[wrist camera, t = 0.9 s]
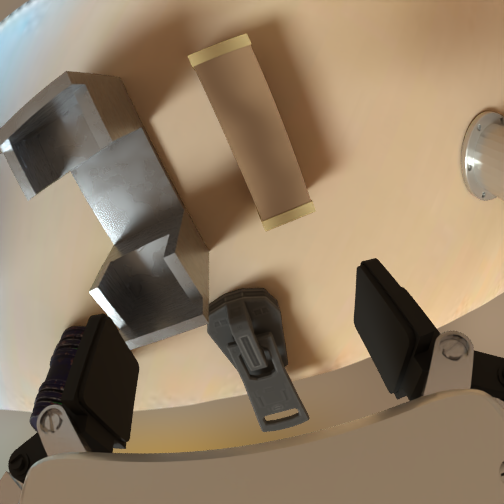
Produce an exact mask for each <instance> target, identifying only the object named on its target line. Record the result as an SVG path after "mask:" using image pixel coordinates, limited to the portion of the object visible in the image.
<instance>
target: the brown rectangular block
mask: <svg viewBox="0 0 504 504" xmlns="http://www.w3.org/2000/svg"><path fill="white" fill-rule="evenodd" d="M188 59H189V61H190V63H191V65H192V67H193V68H194V70H195V71H196V72H197V75H198V77H199V79H200V81H201V83H202V85H203V88H204V90H205V92H206V94H207V96H208V98H209V101H210V103H211V105H212V107H213V109H214V112H215V114H216V116H217V118H218V121H219V123H220V125H221V127H222V129H223V132H224V134H225V136H226V138H227V141H228V143H229V145H230V147H231V150H232V152H233V154H234V156H235V159H236V161H237V163H238V166H239V168H240V170H241V172H242V175H243V177H244V179H245V182H246V184H247V186H248V188H249V191H250V193H251V195H252V198H253V200H254V202H255V205H256V208H257V211H258V214H259V216H260V219H261V222H262V224H263V226H264V229H265V231H269V230H271V229H273V228H276V227H278V226H281V225H283V224H286V223H288V222H291V221H293V220H296V219H298V218H300V217H303V216H305V215H308V214H310V213H313V212H315V208H314V204H313V201H312V200H311V199H310V197H309V194H308V191H307V188H306V185H305V182H304V179H303V176H302V173H301V170H300V167H299V165H298V162H297V159H296V156H295V153H294V151H293V148H292V145H291V143H290V140H289V137H288V135H287V132H286V129H285V127H284V124H283V121H282V119H281V116H280V114H279V111H278V109H277V106H276V104H275V101H274V99H273V96H272V94H271V91H270V89H269V87H268V84H267V82H266V79H265V77H264V75H263V72H262V70H261V68H260V65H259V63H258V61H257V59H256V56H255V54H254V52H253V50H252V47H251V41H250V39H249V37H248V35H247V33H246V34H243V35H240V36H237V37H234V38H231V39H228V40H226V41H223V42H220V43H218V44H215V45H213V46H210V47H207V48H205V49H203V50H200V51H198V52H195V53H193V54H191V55H188Z"/></svg>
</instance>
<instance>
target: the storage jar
mask: <svg viewBox="0 0 504 504" xmlns="http://www.w3.org/2000/svg"><path fill="white" fill-rule="evenodd" d="M85 328H86V327H84V326H74V327H70V328H68V329H66V330H65V331H64V332H63V334H62V337H61V340H60V341H59V343H58V344H57V346H56V348H55V351H54V353H53V355H52V357H51V361H50V369H49V372H48V374H47V377H46V380H45V382H43V383H42V385H41V386H40V388H39V393H38V394H37V397H36V400H35V402H34V408H33V413H32V414H31V417H30V424H31V426H32V427H33V428H34V429H35V431H37V432H38V430H37V419H38V417H39V415H40V413H41V412H42V411H43V410H44V409H45V408H46V407H48V406H50V405H59V406H61V405H62V401H61V400H60V399H61V396H62V393H63V390H64V387H65V383H66V380H67V377H68V374H69V371H70V368H71V366H72V363H73V360H74V357H75V354H76V352H77V349H78V346H79V344H80V341H81V338H82V336H83V333H84V331H85Z"/></svg>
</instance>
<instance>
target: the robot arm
mask: <svg viewBox="0 0 504 504" xmlns="http://www.w3.org/2000/svg"><path fill="white" fill-rule="evenodd" d="M461 167H462V174H463V179H464V182H465V185H466V187H467V188H468V190H469V191H470V193H471V194H472V195H474V196H475V197H477V198H478V199H480V200H484V201H488V200H492V199H494V198H496V197H498V198H500V199H502V200H503V201H504V117H503V116H502V115H500V114H499V113H496V112H492V111H486V112H482V113H481V114H479V115H478V116H477V117H476V118H475V119H474V120H473V121H472V123H471V124H470V126H469V128H468V130H467V132H466V135H465V138H464V142H463V147H462V155H461ZM354 324H355V327H356V329H357V331H358V333H359V335H360V337H361V339H362V341H363V342H364V344H365V346H366V348H367V350H368V352H369V354H370V356H371V358H372V360H373V361H374V363H375V365H376V367H377V369H378V371H379V373H380V375H381V377H382V379H383V381H384V383H385V385H386V387H387V389H388V391H389V392H390V393H391V394H392V393H394V394H395V396H396V398H397V399H400V398H402V397H405V396H407V397H408V399H409V400H410V401H409V402H406V403H403V404H400V405H398V406H395V407H392V408H389V409H387V410H384V411H381V412H378V413H375V414H372V415H369V416H366V417H363V418H360V419H357V420H354V421H350V422H347V423H344V424H341V425H337V426H334V427H330V428H327V429H323V430H320V431H315V432H311V433H308V434H303V435H299V436H295V437H291V438H285V439H281V440H276V441H270V442H265V443H259V444H253V445H247V446H241V447H234V448H226V449H217V450H207V451H195V452H181V453H158V454H157V453H154V454H132V453H131V454H130V453H129V454H128V453H125V454H124V453H112V452H113V448H119V449H126V442H128V441H129V439H130V432H131V423H132V415H133V408H134V401H135V394H136V387H137V380H138V374H139V364H138V362H137V360H136V358H135V357H134V355H133V354H132V352H131V351H130V349H129V347H128V346H127V344H126V342H125V341H124V339H123V338H122V336H121V334H120V332H119V331H118V329H117V327H116V326H115V324H114V322H113V320H112V319H111V318H110V317H107V315H105V314H99V315H93V316H91V317H90V318H89V321H88V323H87V326H86V328H85V331H84V333H83V336H82V338H81V341H80V344H79V346H78V349H77V352H76V354H75V357H74V360H73V363H72V366H71V368H70V371H69V374H68V377H67V380H66V383H65V387H64V390H63V393H62V396H61V399H60V400H61V401H62V405H61V406H59V405H50V406H48V407H46V408H45V409H44V410H43V411H42V412H41V413H40V415H39V417H38V419H37V430H38V432H37V433H36V434H35V435H34V436H33V437H31V438H30V439H29V440H28V441H26V442H25V443H24V444H22V445H21V446H20V447H19V448H18V449H16V450H15V451H14V452H13V453H12V455H11V457H10V459H9V471H10V473H8V472H5V474H4V475H3V477H2V478H1V480H0V504H504V358H501V357H497V356H493V355H489V354H486V353H482V352H478V351H474V349H473V344H472V342H471V340H470V339H469V338H468V337H467V336H466V335H464V334H462V333H460V332H457V331H447V332H444V333H442V334H440V333H439V331H438V330H437V329H436V327H435V326H434V325H433V323H432V322H431V321H430V319H429V318H428V317H427V315H426V314H425V313H424V312H423V310H422V309H421V308H420V307H419V305H418V304H417V303H416V302H415V300H414V299H413V298H412V297H411V295H410V294H409V293H408V292H407V290H406V289H404V288H403V287H401V286H400V285H399V284H398V283H397V282H396V280H395V279H394V278H393V277H392V276H391V274H390V273H389V272H388V271H387V270H386V268H385V267H384V266H383V265H382V264H381V263H380V261H379V260H378V259H376V258H374V259H370V260H366V261H362V262H361V265H360V266H358V267H357V275H356V294H355V310H354Z"/></svg>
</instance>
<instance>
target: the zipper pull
mask: <svg viewBox="0 0 504 504" xmlns="http://www.w3.org/2000/svg"><path fill="white" fill-rule="evenodd" d="M207 332H208V334H209V335H210V336H211V338H212V339H213V340H214V341H215V343H216V344H217V345H218V346H219V348H220V349H221V350H222V352H223V353H224V354H225V355H226V357H227V358H228V359H229V361H230V362H231V363H232V364H233V366H234V367H235V368H236V369H237V371H238V372H239V374H240V377H241V379H242V381H243V383H244V386H245V388H246V391H247V393H248V396H249V399H250V401H251V404H252V406H253V409H254V412H255V414H256V417H257V420H258V422H259V425H260V427H261V429H262V431H263V432H267V431H276V430H281V429H285V428H289V427H292V426H295V425H298V424H301V423H303V422H305V421H307V420H309V416H308V413H307V411H306V409H305V407H304V405H303V404H302V402H301V400H300V398H299V396H298V394H297V392H296V390H295V388H294V386H293V384H292V382H291V380H290V378H289V376H288V373H287V371H286V369H285V366H287V365H288V359H287V353H286V346H285V340H284V334H283V327H282V320H281V312H280V309H279V306H278V302H277V300H276V299H275V298H274V297H273V296H271V295H270V294H269V293H268V292H267V291H266V290H265V289H264V288H251V289H240V290H236V291H233V292H230V293H226V294H224V295H222V296H221V297H219V298H218V299H216V300H215V301H213V302H211V303H210V304H209V324H207ZM293 408H296V409H298V411H299V412H298V413H296V414H294V415H292V416H289V417H285V418H281V419H277V420H270V421H266V420H265V418H264V417H265V416H267V415H270V414H274V413H278V412H282V411H286V410H289V409H293Z"/></svg>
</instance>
